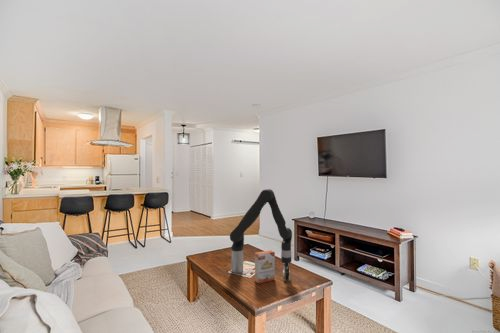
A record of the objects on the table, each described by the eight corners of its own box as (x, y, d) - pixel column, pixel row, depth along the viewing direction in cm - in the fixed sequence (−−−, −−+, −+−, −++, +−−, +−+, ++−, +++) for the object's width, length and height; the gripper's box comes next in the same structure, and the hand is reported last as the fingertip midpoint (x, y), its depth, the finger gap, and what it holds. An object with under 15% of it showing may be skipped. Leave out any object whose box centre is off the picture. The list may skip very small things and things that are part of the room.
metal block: (283, 280, 192) (283, 272, 192) (282, 277, 197) (282, 269, 197) (290, 280, 192) (290, 272, 192) (289, 277, 197) (289, 269, 197)
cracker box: (258, 284, 186) (258, 254, 186) (254, 281, 192) (254, 252, 192) (275, 280, 193) (275, 251, 193) (271, 277, 198) (270, 249, 198)
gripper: (280, 252, 202) (280, 273, 202) (281, 258, 187) (282, 281, 187) (290, 252, 201) (290, 273, 201) (292, 258, 187) (292, 281, 187)
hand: (286, 277), depth 194 cm, fingers open, 8 cm apart
